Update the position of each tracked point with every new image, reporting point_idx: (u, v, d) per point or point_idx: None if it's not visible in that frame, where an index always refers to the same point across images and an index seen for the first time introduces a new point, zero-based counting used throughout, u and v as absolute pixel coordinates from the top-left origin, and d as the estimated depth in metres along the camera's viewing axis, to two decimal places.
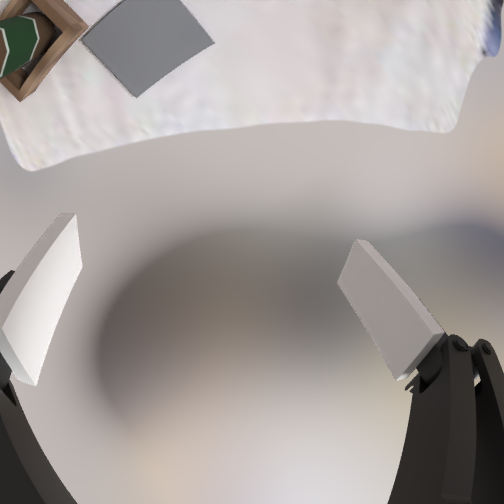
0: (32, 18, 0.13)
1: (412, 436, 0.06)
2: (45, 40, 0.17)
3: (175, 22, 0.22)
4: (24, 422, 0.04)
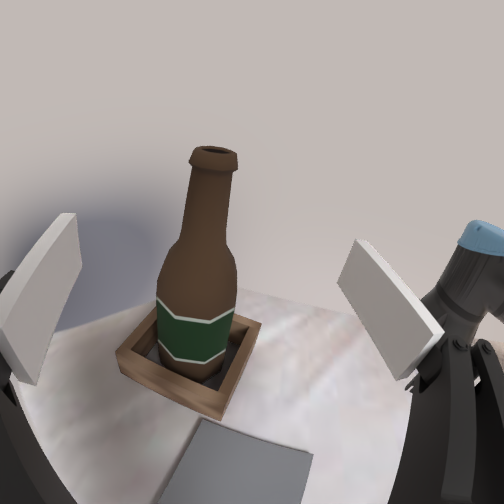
0: None
1: (412, 436, 0.06)
2: (196, 373, 0.27)
3: None
4: (24, 422, 0.04)
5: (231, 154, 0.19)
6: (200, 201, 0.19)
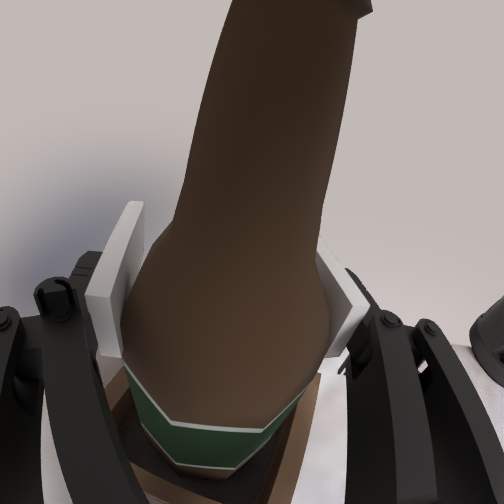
0: None
1: (354, 430, 0.07)
2: (216, 475, 0.12)
3: None
4: (106, 403, 0.06)
5: None
6: (267, 65, 0.04)
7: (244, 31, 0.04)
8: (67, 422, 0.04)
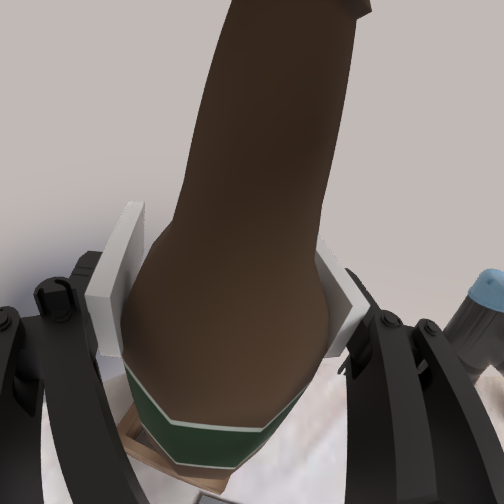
0: None
1: (354, 430, 0.07)
2: (216, 475, 0.12)
3: None
4: (106, 403, 0.06)
5: None
6: (266, 65, 0.04)
7: (243, 31, 0.04)
8: (67, 422, 0.04)
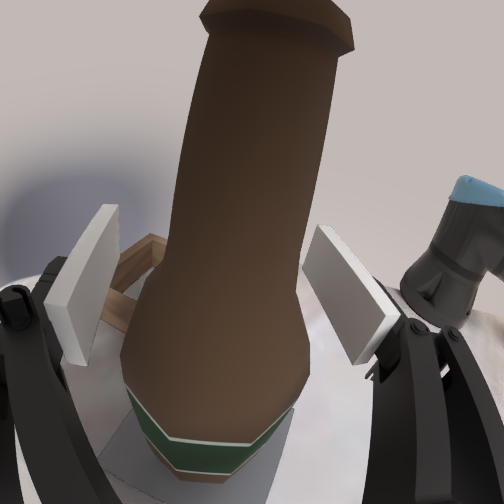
0: None
1: (378, 431, 0.06)
2: (214, 479, 0.12)
3: (248, 469, 0.15)
4: (73, 408, 0.05)
5: (335, 8, 0.04)
6: (238, 131, 0.05)
7: (216, 89, 0.05)
8: (31, 429, 0.03)
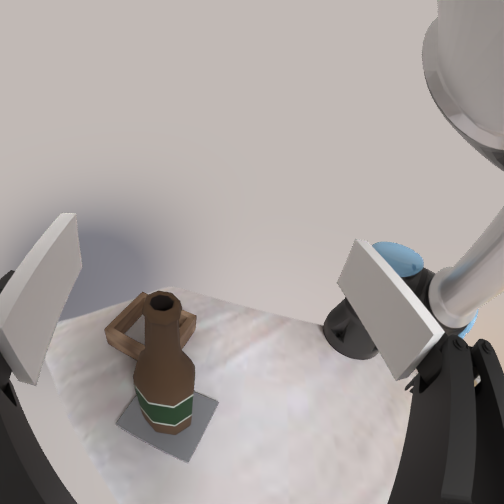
0: None
1: (412, 436, 0.06)
2: (170, 430, 0.31)
3: (189, 430, 0.34)
4: (24, 422, 0.04)
5: (173, 309, 0.23)
6: (154, 340, 0.23)
7: (149, 330, 0.23)
8: None
